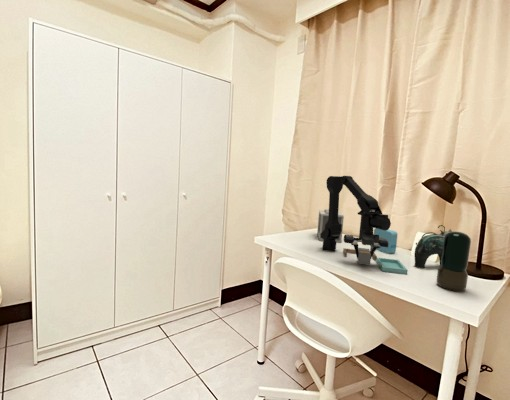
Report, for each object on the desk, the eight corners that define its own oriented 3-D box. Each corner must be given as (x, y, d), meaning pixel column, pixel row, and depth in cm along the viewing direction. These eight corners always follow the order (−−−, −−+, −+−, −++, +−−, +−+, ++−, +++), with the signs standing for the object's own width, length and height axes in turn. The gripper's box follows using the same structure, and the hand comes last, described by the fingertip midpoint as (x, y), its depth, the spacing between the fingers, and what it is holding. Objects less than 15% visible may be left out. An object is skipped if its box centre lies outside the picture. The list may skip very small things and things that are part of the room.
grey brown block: (358, 263, 128) (359, 252, 128) (357, 257, 137) (358, 246, 136) (369, 265, 127) (371, 253, 126) (368, 259, 136) (369, 248, 135)
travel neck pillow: (445, 264, 139) (450, 224, 137) (457, 268, 133) (463, 227, 130) (410, 265, 135) (415, 223, 132) (421, 270, 128) (426, 226, 126)
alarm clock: (316, 234, 188) (319, 207, 186) (337, 236, 187) (339, 208, 185) (319, 241, 170) (321, 211, 168) (341, 243, 169) (344, 213, 166)
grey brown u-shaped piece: (344, 256, 142) (344, 253, 142) (343, 251, 150) (343, 248, 150) (376, 260, 139) (376, 256, 138) (373, 255, 147) (373, 251, 147)
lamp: (455, 294, 104) (463, 235, 101) (430, 283, 112) (437, 229, 110) (471, 290, 108) (479, 234, 105) (446, 281, 116) (453, 228, 114)
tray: (382, 271, 124) (382, 267, 123) (375, 261, 137) (376, 257, 137) (407, 274, 122) (407, 270, 121) (398, 263, 135) (398, 259, 135)
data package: (395, 253, 152) (398, 231, 151) (389, 254, 151) (391, 232, 149) (377, 247, 163) (380, 227, 162) (372, 248, 161) (374, 227, 160)
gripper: (347, 227, 124) (344, 261, 126) (393, 231, 120) (389, 266, 122) (345, 222, 135) (342, 254, 137) (387, 226, 131) (383, 259, 133)
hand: (363, 258), depth 132 cm, fingers closed on grey brown block, 5 cm apart
